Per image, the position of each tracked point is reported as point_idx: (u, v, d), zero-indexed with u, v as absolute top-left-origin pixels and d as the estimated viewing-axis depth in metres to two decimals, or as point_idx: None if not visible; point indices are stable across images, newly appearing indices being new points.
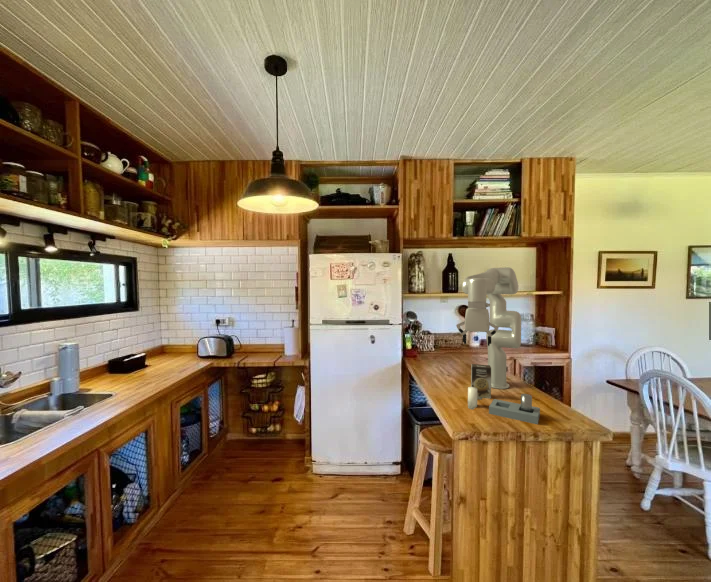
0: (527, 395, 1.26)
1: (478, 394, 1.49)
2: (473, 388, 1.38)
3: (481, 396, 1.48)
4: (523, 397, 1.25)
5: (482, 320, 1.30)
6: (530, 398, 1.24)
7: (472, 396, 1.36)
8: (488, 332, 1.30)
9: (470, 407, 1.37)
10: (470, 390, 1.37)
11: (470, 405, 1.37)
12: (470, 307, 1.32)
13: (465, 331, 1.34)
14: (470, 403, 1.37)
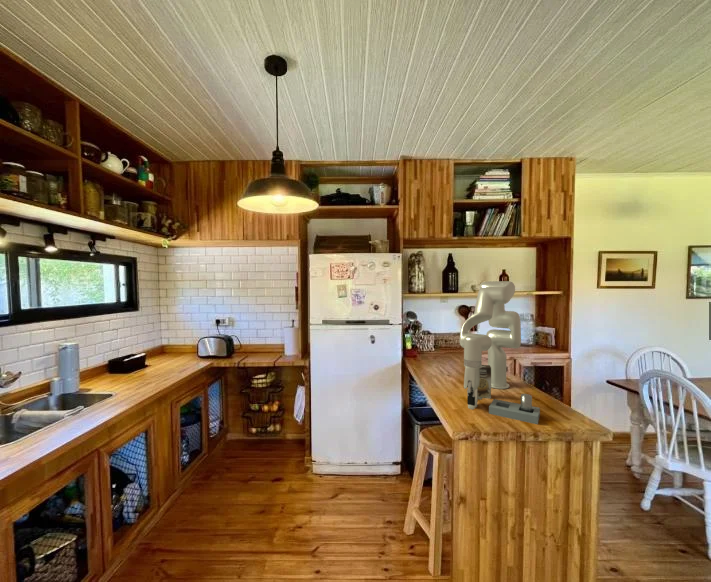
0: (527, 395, 1.26)
1: (478, 394, 1.49)
2: None
3: (481, 396, 1.48)
4: (523, 397, 1.25)
5: (479, 376, 1.39)
6: (530, 398, 1.24)
7: None
8: (477, 388, 1.40)
9: (470, 407, 1.37)
10: None
11: (470, 405, 1.37)
12: (477, 366, 1.34)
13: None
14: None
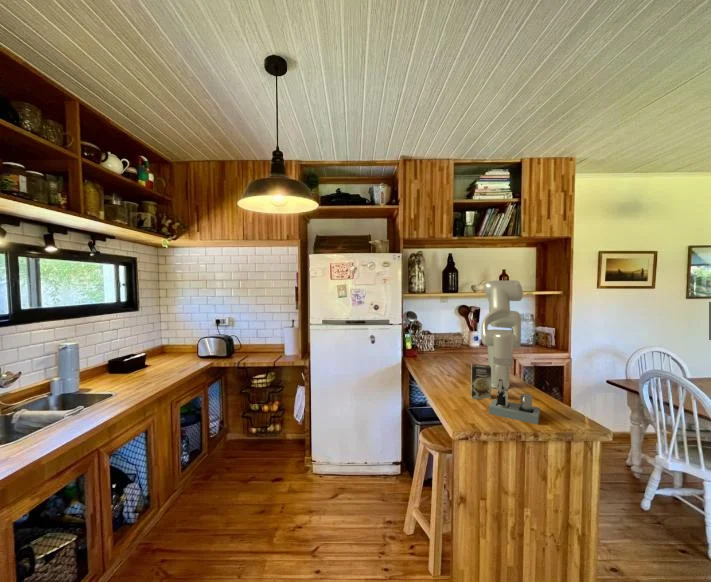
0: (527, 395, 1.26)
1: (478, 394, 1.49)
2: None
3: (481, 396, 1.48)
4: (523, 397, 1.25)
5: (509, 375, 1.32)
6: (530, 398, 1.24)
7: None
8: (507, 387, 1.33)
9: None
10: None
11: None
12: (508, 365, 1.28)
13: (504, 392, 1.28)
14: None
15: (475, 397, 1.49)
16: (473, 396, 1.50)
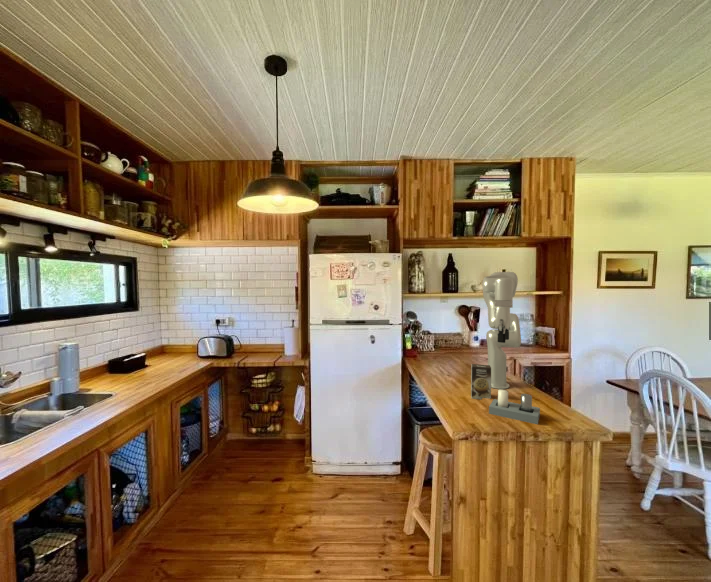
0: (527, 395, 1.26)
1: (478, 394, 1.49)
2: (504, 391, 1.31)
3: (481, 396, 1.48)
4: (523, 397, 1.25)
5: None
6: (530, 398, 1.24)
7: (503, 399, 1.30)
8: (508, 327, 1.44)
9: None
10: (501, 393, 1.30)
11: None
12: (509, 306, 1.37)
13: (505, 330, 1.36)
14: (501, 406, 1.30)
15: (475, 397, 1.49)
16: (473, 396, 1.50)
